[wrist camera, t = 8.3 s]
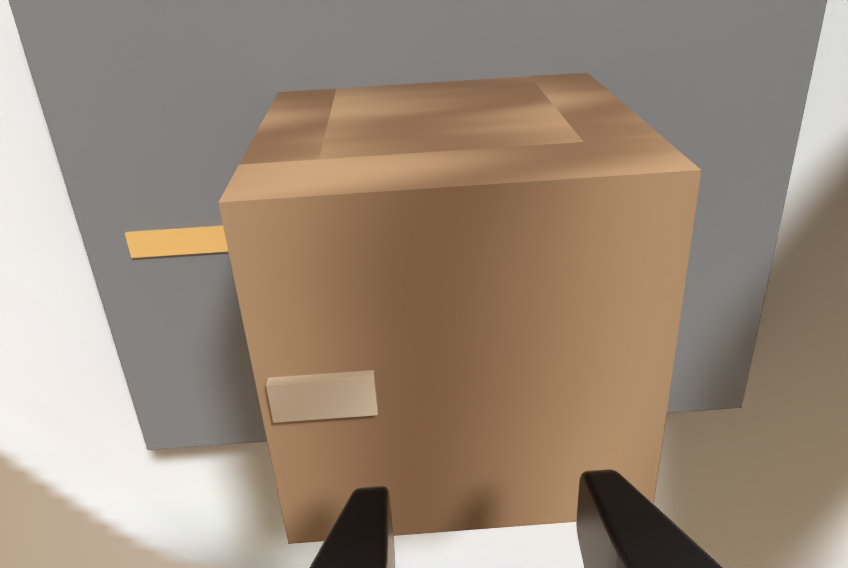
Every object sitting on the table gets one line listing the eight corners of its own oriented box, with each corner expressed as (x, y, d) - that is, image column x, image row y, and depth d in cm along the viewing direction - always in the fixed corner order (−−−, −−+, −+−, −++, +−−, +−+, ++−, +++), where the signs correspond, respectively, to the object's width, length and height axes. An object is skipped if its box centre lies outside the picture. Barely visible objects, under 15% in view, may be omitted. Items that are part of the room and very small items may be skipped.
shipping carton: (587, 72, 15) (707, 175, 9) (572, 332, 18) (655, 524, 12) (277, 92, 15) (215, 207, 9) (316, 350, 18) (287, 552, 12)
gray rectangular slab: (805, -95, 15) (849, -94, 13) (718, 374, 20) (743, 410, 19) (30, -51, 14) (-9, -46, 13) (163, 413, 20) (146, 452, 19)
